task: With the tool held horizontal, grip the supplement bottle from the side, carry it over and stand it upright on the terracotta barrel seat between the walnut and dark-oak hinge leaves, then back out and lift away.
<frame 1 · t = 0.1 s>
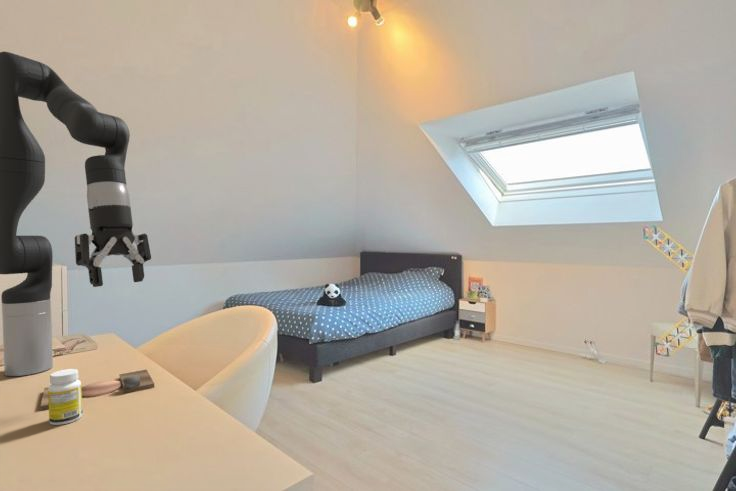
hand: (119, 284, 85), 22 cm above the table, tool pointing down, fingers open, 8 cm apart
supplement bottle: (66, 420, 72), on the table
hinge leaves: (99, 389, 87), on the table
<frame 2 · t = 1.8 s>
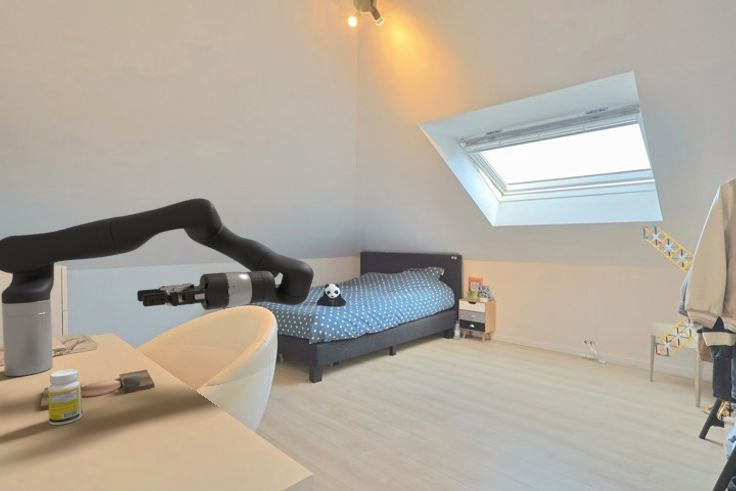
hand: (140, 298, 79), 20 cm above the table, tool horizontal, fingers open, 8 cm apart
nothing on the table moved.
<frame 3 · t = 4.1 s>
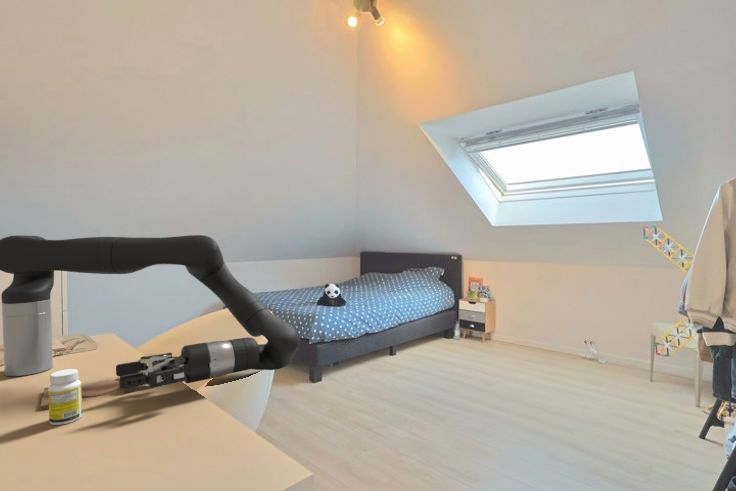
hand: (117, 376, 77), 6 cm above the table, tool horizontal, fingers open, 8 cm apart
nothing on the table moved.
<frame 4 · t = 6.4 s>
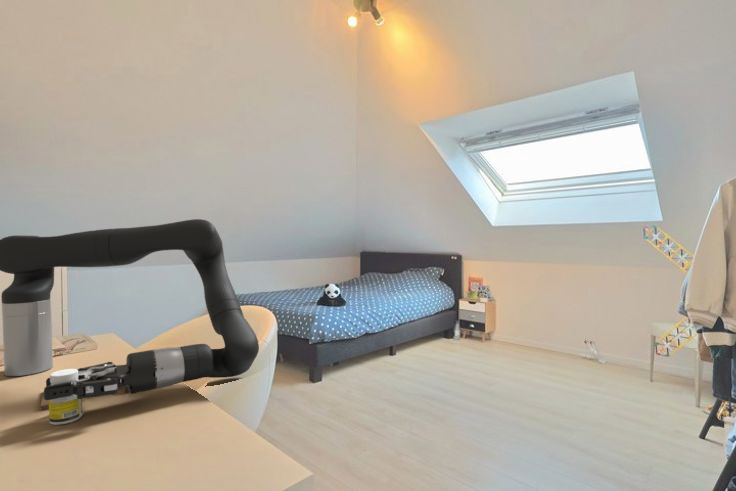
hand: (45, 389, 71), 6 cm above the table, tool horizontal, fingers closed on supplement bottle, 4 cm apart
supplement bottle: (66, 420, 72), on the table, touching gripper
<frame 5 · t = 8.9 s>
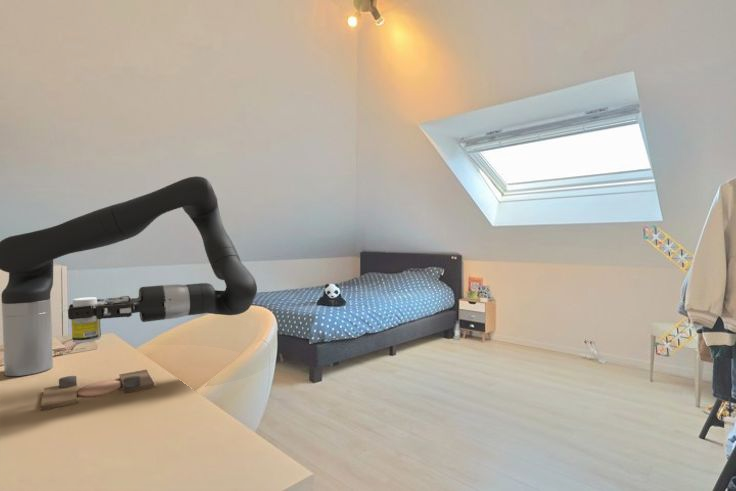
hand: (69, 311, 81), 18 cm above the table, tool horizontal, fingers closed on supplement bottle, 4 cm apart
supplement bottle: (86, 341, 82), point 11 cm above the table, touching gripper
when the fingers open (8 cm above the table, at t = 11.6 s): supplement bottle drops 1 cm, resting on hinge leaves.
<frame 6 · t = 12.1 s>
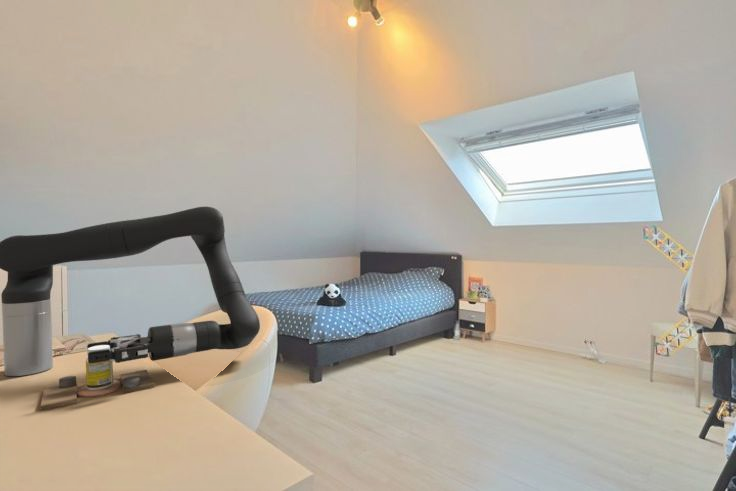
hand: (87, 353, 86), 8 cm above the table, tool horizontal, fingers open, 8 cm apart
supplement bottle: (100, 387, 87), resting on hinge leaves
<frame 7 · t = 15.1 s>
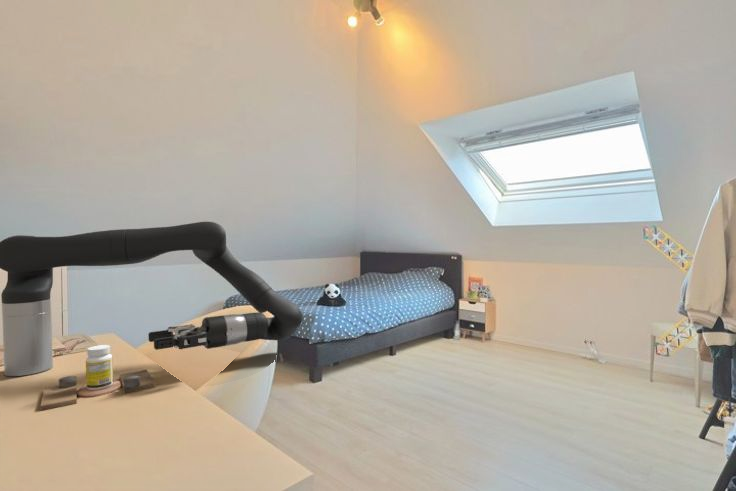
hand: (151, 340, 92), 9 cm above the table, tool horizontal, fingers open, 8 cm apart
nothing on the table moved.
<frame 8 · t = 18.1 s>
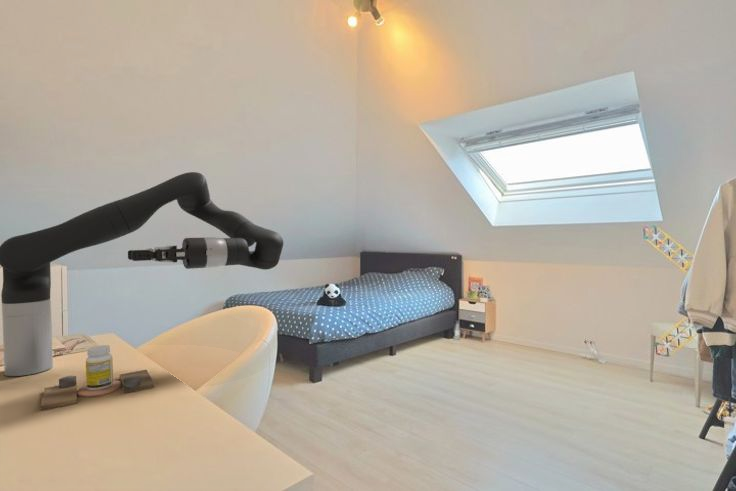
hand: (129, 255, 93), 28 cm above the table, tool horizontal, fingers open, 8 cm apart
nothing on the table moved.
at the end: supplement bottle 0.4 cm from the hinge leaves (horizontally); supplement bottle tilted 0°; the gripper is holding nothing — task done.
